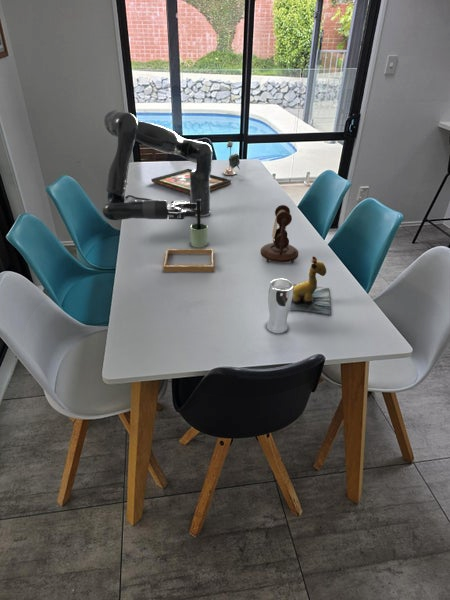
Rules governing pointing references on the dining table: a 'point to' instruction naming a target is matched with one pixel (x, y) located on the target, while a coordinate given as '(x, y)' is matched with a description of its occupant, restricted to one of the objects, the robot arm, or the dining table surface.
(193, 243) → the pen cup
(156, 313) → the dining table surface
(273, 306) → the beer glass
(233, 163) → the plant with pod
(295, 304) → the stuffed giraffe
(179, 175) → the religious icon
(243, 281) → the dining table surface
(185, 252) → the oak tray
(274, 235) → the scroll
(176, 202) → the robot arm
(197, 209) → the black rectangular stick
